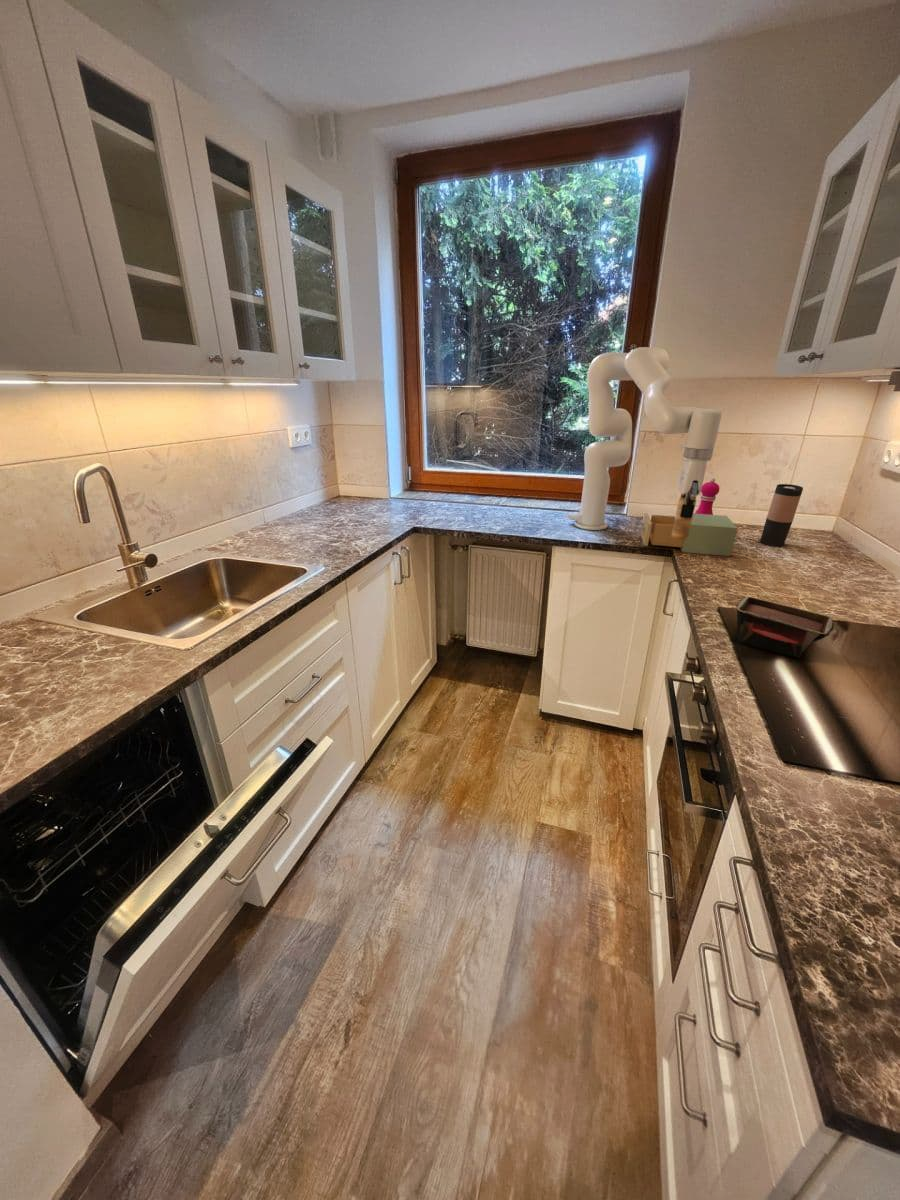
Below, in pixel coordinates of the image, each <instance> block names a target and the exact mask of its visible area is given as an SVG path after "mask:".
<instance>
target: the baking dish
mask: <svg viewBox="0 0 900 1200" xmlns="http://www.w3.org/2000/svg"><path fill="white" fill-rule="evenodd" d="M736 626H737V627H736V628H737V629H736V630H737V631H736V632H737V633H736V634H737V642H738V643H741V644H744V645H747V646H751V647H753V648H758V649H762V650H765V651H768V652H769V651H770V652H774V653H777V654H781V655H785V656H788V657H793V658H797V659H801V658H802V653H803V652H804V651H805V650H806V649H807V648H808V647H809V646H810V645H811V644H812V643H815V642H818V641H820V640H823V639H824V638H826V637H828V636H830V634H831V633H832V631H833V630H834V627H835V623H834V619H833V617H831V615H827V614H822V613H819V612H814V611H810V610H807V609H802V608H800V607H799V608H798V607H794V606H790V605H786V604H782V603H778V602H774V601H770V600H766V599H762V598H757V597H754V596H745V597H743V598H741V600H740V601H739V602H738V603H737V604H736ZM800 656H801V657H800Z"/></svg>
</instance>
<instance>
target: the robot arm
mask: <svg viewBox="0 0 900 1200" xmlns="http://www.w3.org/2000/svg"><path fill="white" fill-rule="evenodd" d="M668 353H669V352H667V351H666V350H665V349H664V348H662V347H653V346H652V347H650V346H649V347H648V346H641V347H640V346H639V347H636V348H634V349H632V350H631V351H629V352H612V351H611V352H603V353H601V354H599V355H597V356H595V357H594V358H593V360H592V361H591V362H590V364H589V366H588V368H587V374H586V384H587V391H588V431H589V433H590V435H591V436H593V437H595V438H608V437H610V440H599V441H594V442H591V443H589V445H588V446H587V447H586V448H585V451H584V454H583V460H584V461H583V462H584V476H583V483H582V491H581V493H582V494H581V501H580V509H579V511H578V513H577V512H576V513H567V516H566V517H567V519H570V521H571V520H572V521H573V520H574V526H575V527H577V528H579V529H582V530H588V531H602V530H605V529H607V528H608V527H609V524H608V522H607V521H605V518H606V511H607V506H608V505H607V504H608V499H609V493H610V486H611V485H610V484H611V477H610V473H609V469H608V468H617V467H621V466H624V465H626V464H627V463H628V462H629V460H630V458H631V454H632V444H633V443H632V440H633V419H632V416H631V414H630V412H629V411H628V410H627V409H625V408H619V407H617V408H615V392H614V390H613V387H612V385H611V383H610V381H632V382H634V384H635V385H636V386H637V388H638V389H639V390H640V392H641V393H642V395H643V396H644V399H643V409H644V413H645V416H646V417H647V419H648V421H649V422H650V423H651V425H652V426H653V427H654V429H655V430H656V431H658V433H661V434H663V435H675V434H687V436H686V441H685V445H684V450H683V455H682V459H683V461H684V462H683V465H682V468H681V472H680V476H679V480H678V483H677V490H678V491H679V492H680V496H679V497H680V498H685V501H684V504H683V506H682V510H681V515H680V517H682V518H692V514H694V513H693V510H694V511H695V509H694V506H695V507H696V505H695V500H696V501H697V496H699V495H700V494H701V488H702V485H703V484H704V480H705V475H706V470H707V465H708V464H707V463H708V462H711V460H712V457H713V453H714V448H715V444H716V441H717V437H718V433H719V427H720V424H721V419H722V411H721V410H720V409H717V408H702V407H698V406H694V405H693V406H692V405H687V406H686V405H685V406H683V405H682V406H671V404H670V403H669V402H668V401H667V400H666V397H664V394H665V393H666V391H667V390H669V388H670V386H671V383H672V377H671V375H670V374H669V373H668V372H667V370H668V368H669V365H670V356H669V354H668ZM680 498H679V499H680Z"/></svg>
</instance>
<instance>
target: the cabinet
mask: <svg viewBox="0 0 900 1200" xmlns="http://www.w3.org/2000/svg"><path fill="white" fill-rule="evenodd" d="M737 533H738V526H737V525H736V524H735V523H734V522H733V521H732V520H731V519H730V518H729V516H728V515H722V514H713V515H708V514H694V513H693V517H692V522H691V526H690V530H689V535H688V539H685V540H684V544H683V547H679V548H680V551H681V552H682V553H689V554H702V555H713V556H722V557H723V556H724V557H730V556H731V554H732V551H733V548H734V544H735V539H736V536H737Z"/></svg>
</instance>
